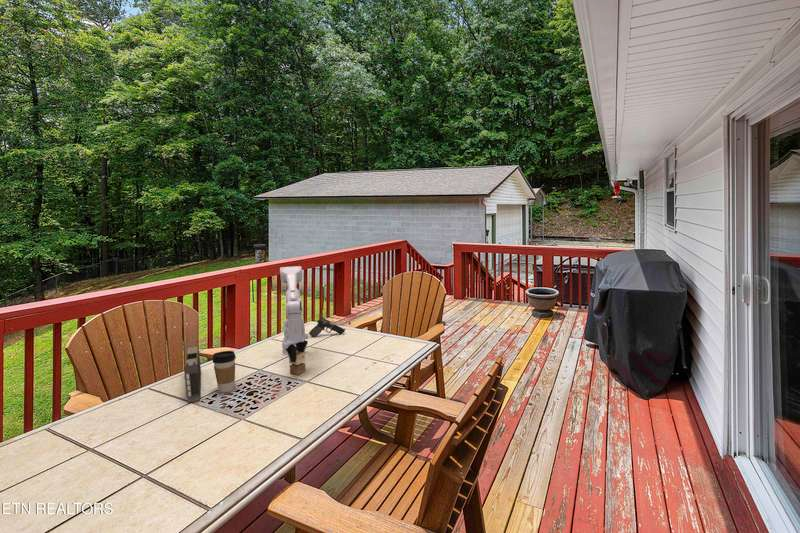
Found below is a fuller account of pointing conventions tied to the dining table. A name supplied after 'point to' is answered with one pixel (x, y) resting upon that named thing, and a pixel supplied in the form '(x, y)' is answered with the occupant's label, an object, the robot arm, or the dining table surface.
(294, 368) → the walnut block
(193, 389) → the graphics card
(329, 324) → the handgun
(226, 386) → the coffee cup
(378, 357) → the dining table surface
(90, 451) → the dining table surface
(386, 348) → the dining table surface
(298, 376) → the board
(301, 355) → the maple block
